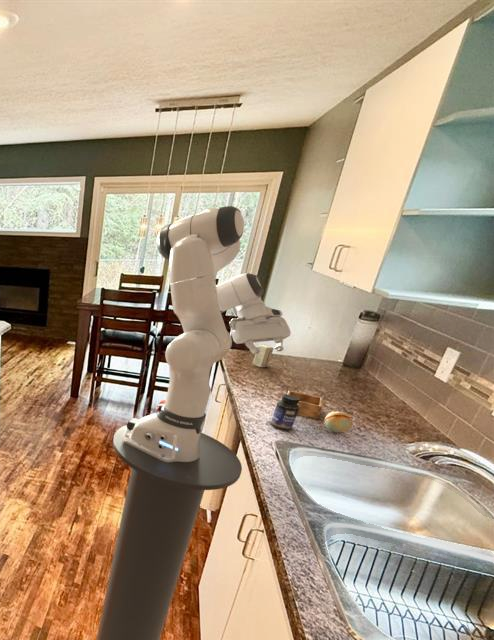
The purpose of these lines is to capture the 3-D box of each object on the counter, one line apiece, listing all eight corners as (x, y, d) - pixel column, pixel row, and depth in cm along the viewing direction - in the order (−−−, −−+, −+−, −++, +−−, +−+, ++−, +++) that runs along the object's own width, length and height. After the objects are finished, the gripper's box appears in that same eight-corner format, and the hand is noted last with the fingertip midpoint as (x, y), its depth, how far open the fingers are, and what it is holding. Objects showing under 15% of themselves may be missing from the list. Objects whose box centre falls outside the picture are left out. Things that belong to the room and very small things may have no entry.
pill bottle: (281, 431, 131) (291, 401, 127) (265, 422, 136) (275, 393, 132) (296, 430, 132) (307, 400, 128) (280, 421, 138) (290, 392, 133)
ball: (320, 424, 137) (327, 406, 134) (346, 430, 133) (354, 411, 130) (321, 432, 131) (329, 413, 129) (348, 438, 128) (357, 419, 125)
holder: (281, 410, 146) (285, 398, 144) (284, 401, 153) (288, 390, 151) (317, 419, 140) (322, 407, 138) (318, 410, 147) (323, 397, 145)
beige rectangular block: (268, 367, 191) (274, 347, 187) (260, 367, 190) (266, 347, 187) (259, 363, 196) (265, 344, 192) (251, 364, 195) (257, 344, 191)
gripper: (234, 314, 136) (248, 350, 132) (285, 310, 139) (301, 345, 134) (221, 323, 142) (235, 358, 137) (271, 319, 145) (286, 353, 140)
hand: (268, 352), depth 136 cm, fingers open, 8 cm apart
